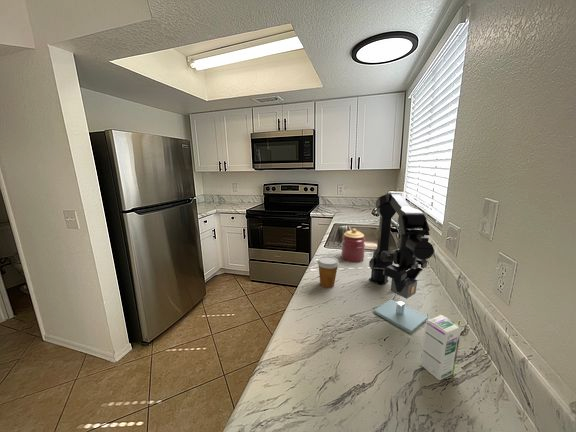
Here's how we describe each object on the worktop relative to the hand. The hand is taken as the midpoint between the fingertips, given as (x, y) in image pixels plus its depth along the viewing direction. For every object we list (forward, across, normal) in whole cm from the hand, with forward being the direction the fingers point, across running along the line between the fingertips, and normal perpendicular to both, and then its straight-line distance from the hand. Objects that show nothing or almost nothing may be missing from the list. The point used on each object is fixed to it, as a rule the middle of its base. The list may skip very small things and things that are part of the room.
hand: (403, 289), depth 85 cm
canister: (+11, -29, -45) cm, 55 cm away
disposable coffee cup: (+11, +5, -32) cm, 34 cm away
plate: (+11, 0, 0) cm, 11 cm away
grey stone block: (+10, 0, 0) cm, 10 cm away
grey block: (+1, 0, 0) cm, 1 cm away
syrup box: (+11, +14, +18) cm, 25 cm away
